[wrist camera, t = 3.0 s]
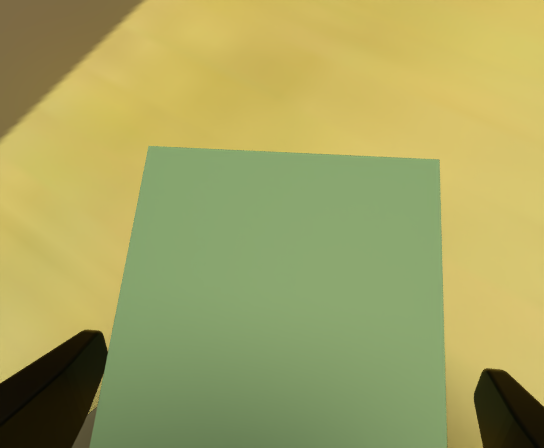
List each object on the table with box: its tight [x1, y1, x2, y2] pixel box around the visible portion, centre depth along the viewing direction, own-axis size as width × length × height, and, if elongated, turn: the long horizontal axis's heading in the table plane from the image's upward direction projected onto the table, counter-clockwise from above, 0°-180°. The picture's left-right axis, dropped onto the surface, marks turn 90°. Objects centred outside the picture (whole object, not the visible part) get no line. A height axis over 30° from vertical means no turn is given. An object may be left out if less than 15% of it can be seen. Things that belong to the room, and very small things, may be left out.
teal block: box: [89, 146, 447, 448], centre depth 12 cm, size 5×5×12 cm
